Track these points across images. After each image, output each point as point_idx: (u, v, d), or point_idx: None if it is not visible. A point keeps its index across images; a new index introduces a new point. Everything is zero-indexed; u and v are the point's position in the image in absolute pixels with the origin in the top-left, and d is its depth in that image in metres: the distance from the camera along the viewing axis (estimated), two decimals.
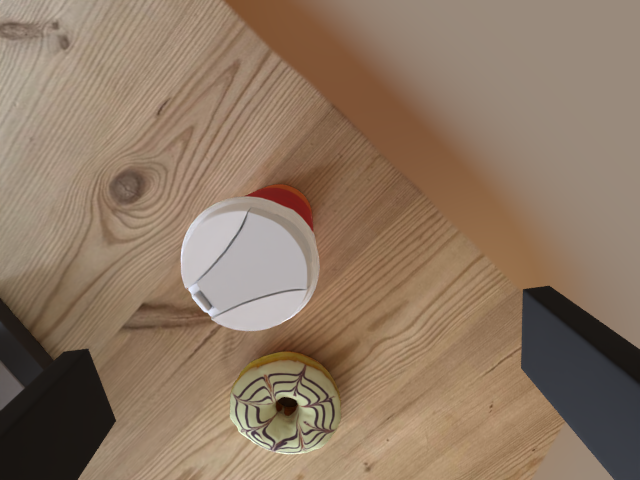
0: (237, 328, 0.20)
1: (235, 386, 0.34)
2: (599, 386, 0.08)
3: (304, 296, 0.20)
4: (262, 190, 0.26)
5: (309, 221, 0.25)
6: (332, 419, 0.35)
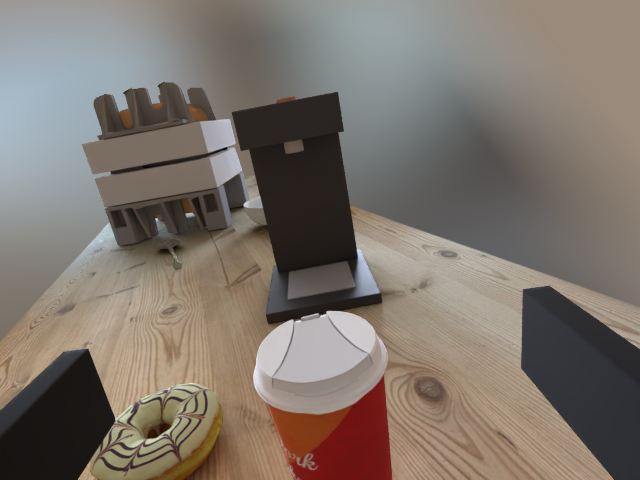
0: (274, 329, 0.23)
1: (214, 394, 0.35)
2: (599, 386, 0.08)
3: (267, 375, 0.19)
4: (388, 456, 0.22)
5: None
6: (107, 462, 0.29)
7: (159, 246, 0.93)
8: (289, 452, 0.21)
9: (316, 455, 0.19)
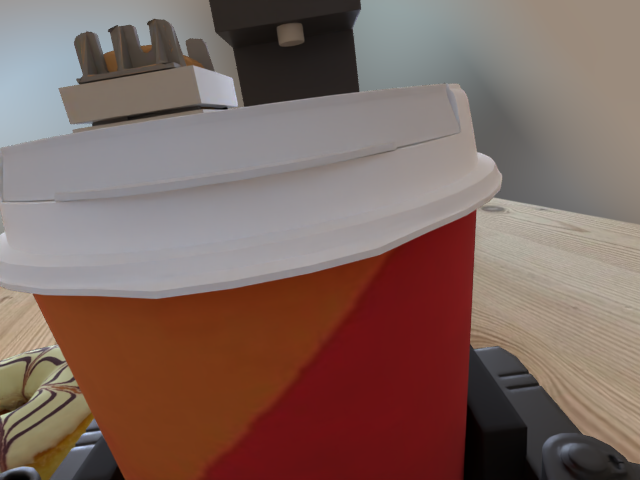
0: None
1: None
2: None
3: None
4: None
5: None
6: None
7: None
8: None
9: None
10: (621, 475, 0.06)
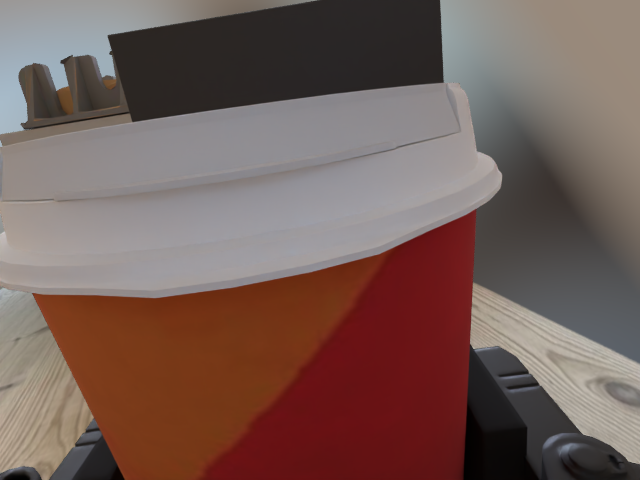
0: None
1: None
2: None
3: None
4: None
5: None
6: None
7: None
8: None
9: None
10: (621, 475, 0.06)
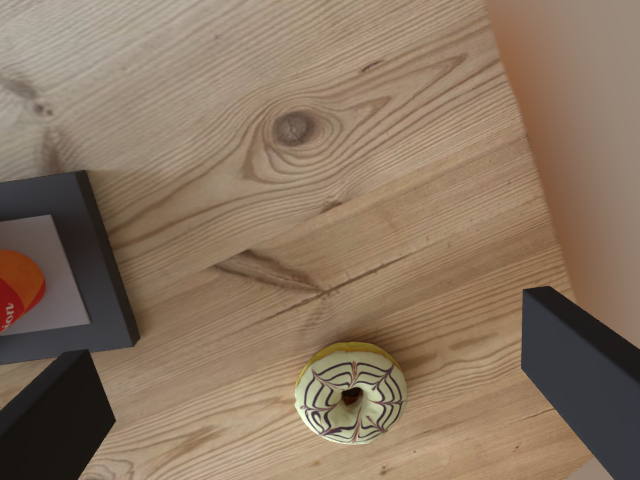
0: None
1: (318, 363, 0.33)
2: (599, 386, 0.08)
3: None
4: None
5: None
6: (393, 421, 0.35)
7: None
8: None
9: None
10: None
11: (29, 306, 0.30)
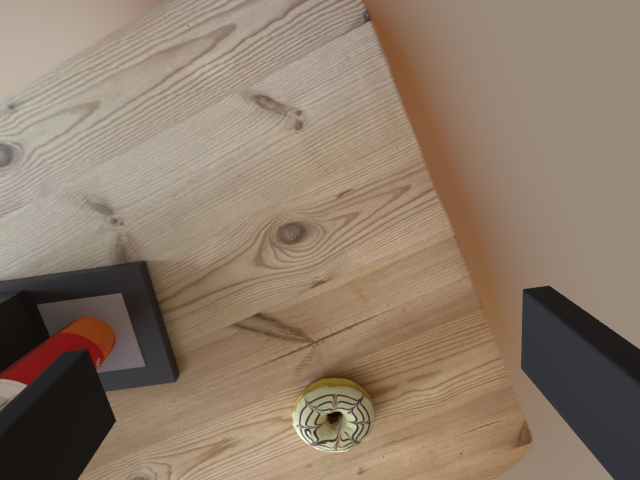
0: None
1: (309, 394, 0.46)
2: (599, 386, 0.08)
3: None
4: (60, 343, 0.38)
5: None
6: (364, 435, 0.48)
7: None
8: None
9: None
10: None
11: (106, 357, 0.44)
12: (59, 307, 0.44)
